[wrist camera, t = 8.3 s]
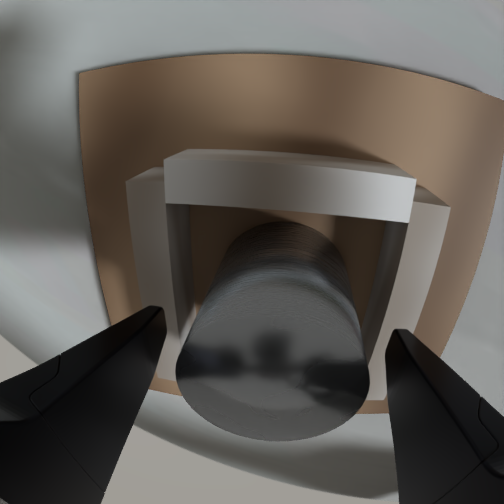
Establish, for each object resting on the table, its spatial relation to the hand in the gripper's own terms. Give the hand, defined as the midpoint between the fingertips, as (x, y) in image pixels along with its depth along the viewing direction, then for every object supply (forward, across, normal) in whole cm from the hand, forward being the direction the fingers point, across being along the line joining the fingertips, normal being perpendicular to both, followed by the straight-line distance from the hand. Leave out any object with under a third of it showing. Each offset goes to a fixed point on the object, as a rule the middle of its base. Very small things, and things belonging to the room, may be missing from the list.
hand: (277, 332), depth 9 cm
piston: (+3, 0, 0) cm, 3 cm away
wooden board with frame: (+4, 0, 0) cm, 4 cm away
